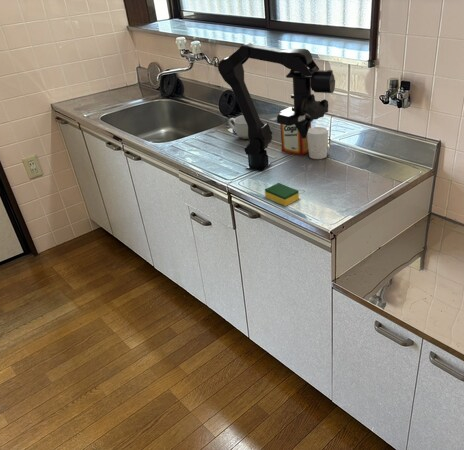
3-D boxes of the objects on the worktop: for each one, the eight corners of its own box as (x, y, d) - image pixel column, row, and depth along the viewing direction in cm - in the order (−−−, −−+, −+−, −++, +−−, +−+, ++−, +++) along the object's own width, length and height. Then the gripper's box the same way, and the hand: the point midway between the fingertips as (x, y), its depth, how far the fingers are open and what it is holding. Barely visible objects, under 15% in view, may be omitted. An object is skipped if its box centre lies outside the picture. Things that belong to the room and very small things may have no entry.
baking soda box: (282, 151, 183) (279, 110, 175) (292, 145, 188) (290, 106, 180) (301, 155, 178) (300, 114, 170) (311, 150, 182) (310, 109, 174)
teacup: (266, 134, 200) (264, 116, 196) (251, 142, 193) (249, 123, 189) (240, 130, 207) (238, 112, 203) (224, 138, 200) (222, 119, 195)
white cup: (327, 160, 173) (326, 134, 168) (306, 159, 175) (305, 133, 169) (329, 152, 180) (329, 126, 174) (309, 151, 181) (308, 126, 176)
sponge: (265, 197, 150) (264, 189, 148) (279, 191, 153) (278, 182, 152) (285, 206, 144) (284, 197, 143) (298, 199, 148) (298, 190, 146)
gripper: (299, 102, 140) (301, 151, 148) (340, 88, 151) (340, 135, 159) (274, 96, 147) (277, 144, 155) (315, 84, 158) (316, 128, 166)
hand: (304, 138), depth 159 cm, fingers closed
